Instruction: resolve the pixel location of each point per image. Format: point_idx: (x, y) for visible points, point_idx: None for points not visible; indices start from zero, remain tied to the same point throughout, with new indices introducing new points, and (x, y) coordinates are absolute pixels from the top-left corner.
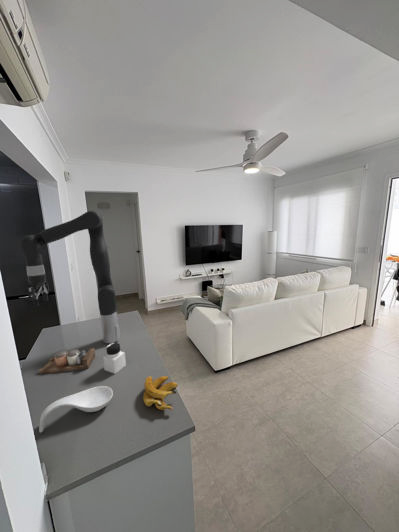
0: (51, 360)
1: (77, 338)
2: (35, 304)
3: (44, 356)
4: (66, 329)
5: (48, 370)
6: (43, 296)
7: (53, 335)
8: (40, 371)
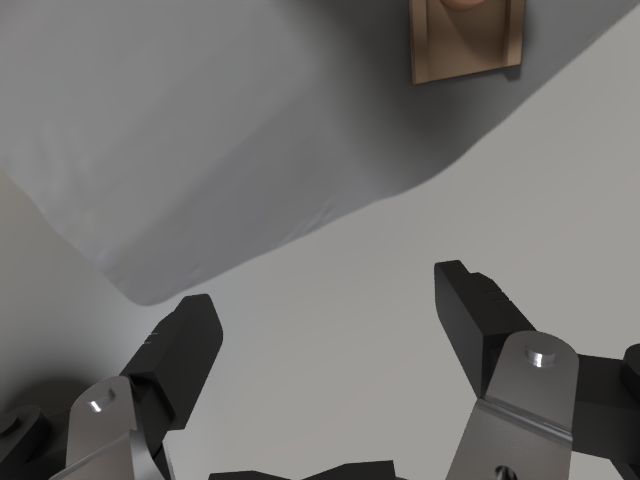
0: (425, 70)
1: (197, 87)
2: (493, 291)
3: (370, 148)
4: (124, 220)
5: (521, 12)
6: (193, 386)
7: (191, 241)
8: (517, 55)
